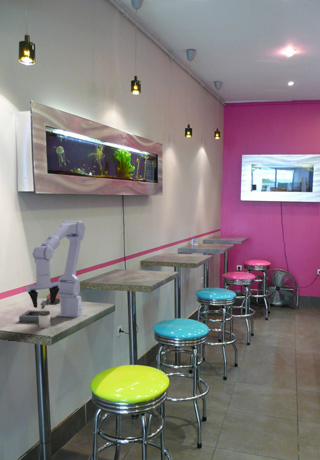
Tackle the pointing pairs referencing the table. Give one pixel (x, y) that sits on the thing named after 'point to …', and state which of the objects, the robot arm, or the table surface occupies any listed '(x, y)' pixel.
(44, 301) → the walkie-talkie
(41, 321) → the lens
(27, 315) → the grey square frame
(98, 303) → the table surface
